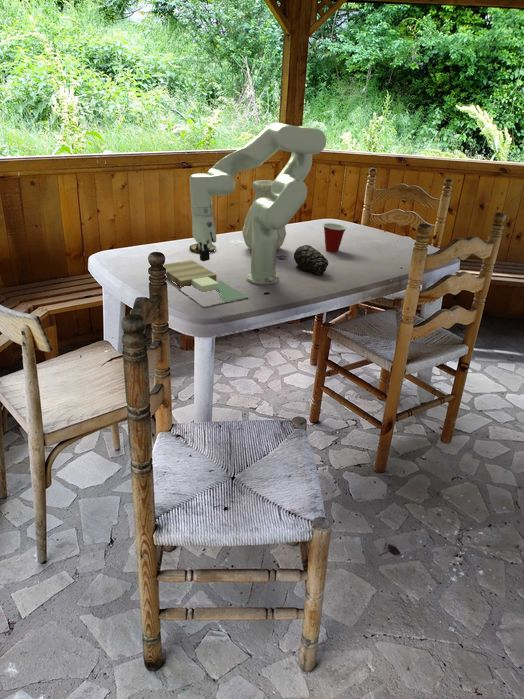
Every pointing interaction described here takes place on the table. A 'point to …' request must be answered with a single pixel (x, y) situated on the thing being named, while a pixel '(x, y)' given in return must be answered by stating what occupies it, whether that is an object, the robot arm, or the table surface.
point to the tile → (205, 284)
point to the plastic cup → (333, 236)
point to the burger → (196, 248)
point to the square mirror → (229, 293)
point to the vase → (261, 191)
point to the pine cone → (310, 260)
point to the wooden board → (187, 272)
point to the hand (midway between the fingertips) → (204, 260)
